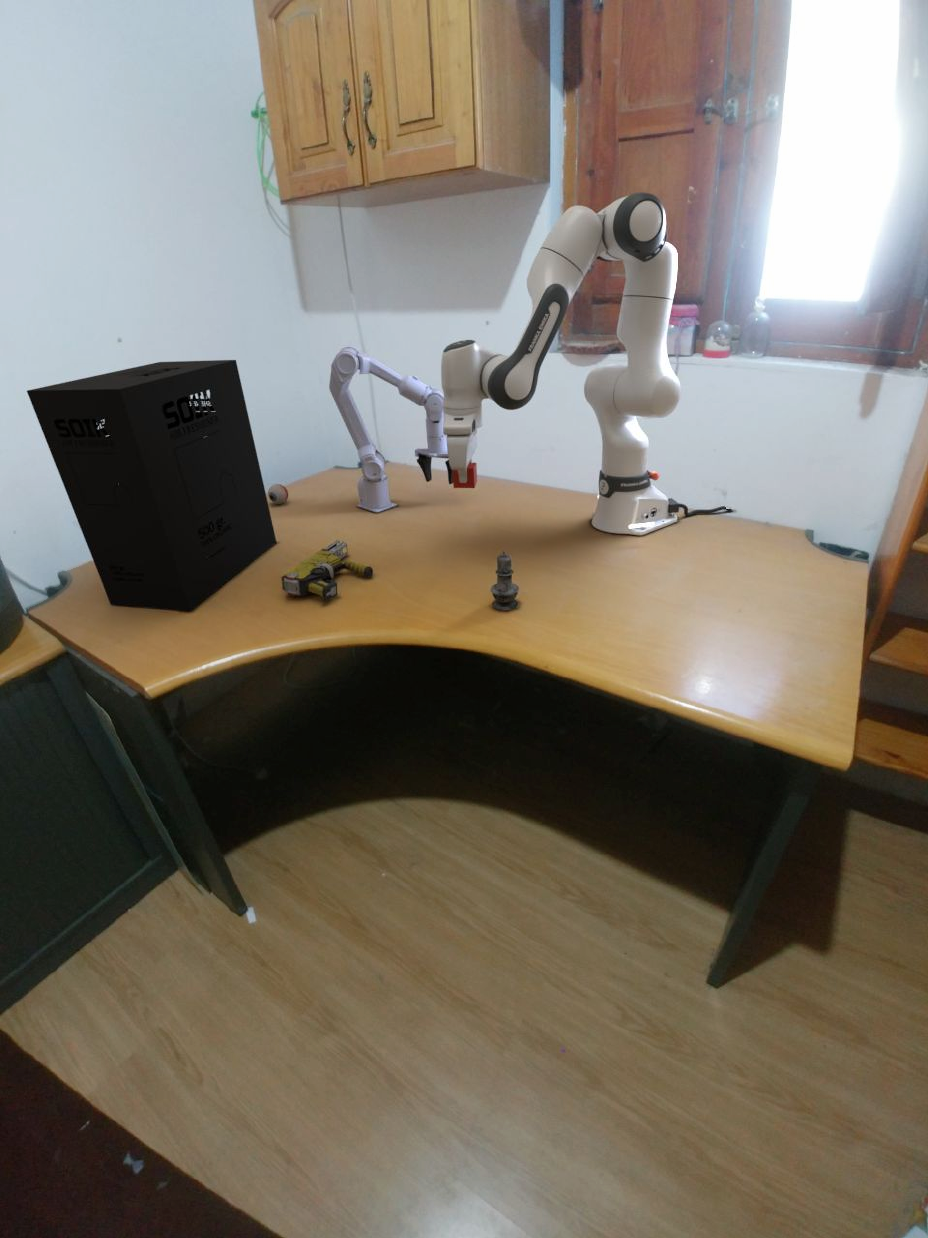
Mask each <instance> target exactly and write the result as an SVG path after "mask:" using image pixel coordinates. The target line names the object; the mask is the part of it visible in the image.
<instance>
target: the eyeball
mask: <svg viewBox="0 0 928 1238" xmlns="http://www.w3.org/2000/svg"><path fill="white" fill-rule="evenodd" d="M267 490H268V491H267V497H268V499H269V500H270V501H271V502H272V503H274V504H276V505H281V504H284V503H285V502H286V501H287V500H288V498H289V491H288V489H287V487H286V486H285V485H283V484H281V483H275V484H273V485H271V486H270V487H269V488H268V489H267Z"/></svg>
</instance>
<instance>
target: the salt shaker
mask: <svg viewBox="0 0 928 1238" xmlns="http://www.w3.org/2000/svg"><path fill="white" fill-rule="evenodd" d="M494 573H495V575H496V583H495V584H493V585H491V587H490V592H491V594H492V597H493V598H494V600H493V602H492V603H491V605H492V607H493V608H494V609H495V610H499V611H511V610H514V609H516V608H518V605H519V602H518V601H517V600H516V598H517V596H518V595H519V594H518V592H520V587H519V585H518V584H516V583H514V582H513V574H514V570H513V568H512V556H511V555H509V554H507V552H506V551H505V550H503V551H502V554H499V555H498V556H497V558H496V570H495V572H494Z"/></svg>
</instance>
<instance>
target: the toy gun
mask: <svg viewBox="0 0 928 1238" xmlns="http://www.w3.org/2000/svg"><path fill="white" fill-rule="evenodd" d="M345 548H348V543H347V542H346V541H343V540H342V541H341V540H339V539H338V540H335V541H334V542H333V543H331V544H330V545H327V546H326V547H325V548H321V549H320V550H318V551H317V552H316V553H314V554H312V555H311V556H310V557H307V559H305V560H304V561H302V562H300V563H299V564H298V565H296V566H294V567H293V568H291V569H290V570H288V571H287V572H285V573H284V574H282V576H281V585H282V586H281V587H282V590H283V591H284V592H285V593H287V596H292V597H295V596H302V597H303V596H307V595H310V594H315V595H318V596H320V597H322V601H323V602H325V603H327V602H328V601H330V600H332V599H333V598H335V597H337V596H338V594H339V593H338V582H337V581H336V580H334V578H335V577H334V575H336V574H337V573H340V572H342V571H343V570H346V571H349V572H353V573H355V574H358V575H361V576H364V577H366V578H370V577H372V576H373V575H374V569H373V567H372V566H370V565H365V564H361V563H359V562H357V561H352V560H349V559H347V560H345V561H344V562H342V560H343V558H344V557H347V556H348V554H349V553H348V549H346V552H344V549H345Z"/></svg>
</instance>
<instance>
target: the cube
mask: <svg viewBox="0 0 928 1238" xmlns="http://www.w3.org/2000/svg"><path fill="white" fill-rule="evenodd" d="M477 468H478V467H477V462H471V463H469V464H468V466H467V479H468V480H467V482H466V483H460V482H459V474H458V470H453V483H452V484H453V489H475V488H476V486H477V483H478V470H477Z"/></svg>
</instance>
